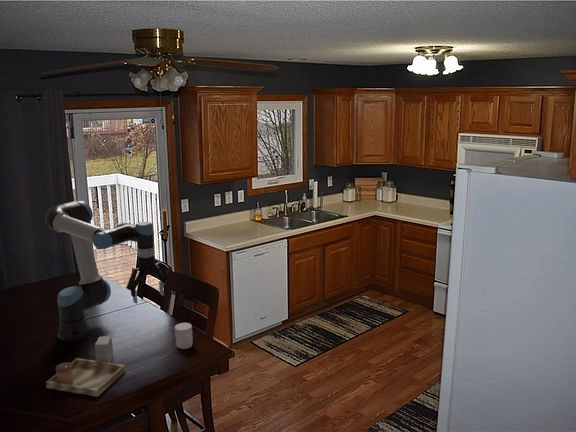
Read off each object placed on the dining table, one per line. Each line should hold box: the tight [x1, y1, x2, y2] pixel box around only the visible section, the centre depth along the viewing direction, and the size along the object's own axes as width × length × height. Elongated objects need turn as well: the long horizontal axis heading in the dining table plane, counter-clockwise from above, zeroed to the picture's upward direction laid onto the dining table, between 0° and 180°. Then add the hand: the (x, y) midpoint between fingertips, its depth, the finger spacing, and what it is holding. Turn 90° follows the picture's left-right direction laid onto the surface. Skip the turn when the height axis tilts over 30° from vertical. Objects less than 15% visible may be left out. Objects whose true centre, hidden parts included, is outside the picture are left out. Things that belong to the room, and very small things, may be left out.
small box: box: [94, 335, 114, 363], centre depth 238 cm, size 8×6×10 cm
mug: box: [174, 322, 194, 350], centre depth 252 cm, size 12×9×8 cm
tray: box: [45, 357, 126, 398], centre depth 223 cm, size 24×20×4 cm
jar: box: [55, 361, 74, 385], centre depth 219 cm, size 6×6×8 cm
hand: (148, 298), depth 249 cm, fingers open, 13 cm apart
